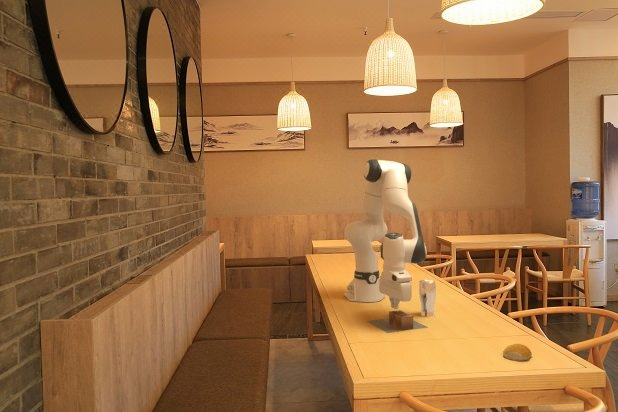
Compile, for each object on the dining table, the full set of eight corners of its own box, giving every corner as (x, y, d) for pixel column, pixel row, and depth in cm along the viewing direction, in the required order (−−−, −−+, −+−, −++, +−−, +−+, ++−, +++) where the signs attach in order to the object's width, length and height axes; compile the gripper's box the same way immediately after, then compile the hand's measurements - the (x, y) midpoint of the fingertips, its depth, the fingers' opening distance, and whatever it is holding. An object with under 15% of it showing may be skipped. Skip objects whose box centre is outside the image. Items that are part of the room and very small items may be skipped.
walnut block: (388, 311, 205) (401, 317, 195) (399, 310, 206) (413, 316, 197) (389, 323, 205) (401, 330, 195) (400, 322, 207) (413, 328, 197)
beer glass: (424, 319, 213) (423, 283, 212) (416, 315, 220) (415, 280, 219) (439, 317, 215) (438, 282, 214) (431, 313, 222) (430, 279, 221)
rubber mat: (366, 322, 210) (366, 321, 210) (404, 317, 216) (404, 316, 216) (387, 334, 193) (387, 332, 193) (428, 328, 199) (428, 327, 199)
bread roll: (533, 355, 168) (533, 343, 167) (527, 363, 160) (527, 350, 160) (507, 350, 172) (507, 339, 172) (499, 358, 165) (499, 346, 165)
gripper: (375, 270, 213) (375, 303, 214) (400, 278, 194) (400, 314, 195) (388, 269, 216) (388, 301, 216) (414, 277, 196) (415, 313, 197)
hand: (394, 308), depth 205 cm, fingers closed
